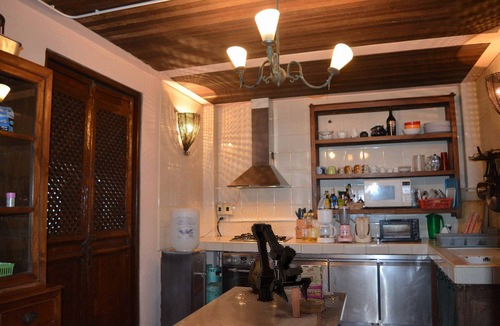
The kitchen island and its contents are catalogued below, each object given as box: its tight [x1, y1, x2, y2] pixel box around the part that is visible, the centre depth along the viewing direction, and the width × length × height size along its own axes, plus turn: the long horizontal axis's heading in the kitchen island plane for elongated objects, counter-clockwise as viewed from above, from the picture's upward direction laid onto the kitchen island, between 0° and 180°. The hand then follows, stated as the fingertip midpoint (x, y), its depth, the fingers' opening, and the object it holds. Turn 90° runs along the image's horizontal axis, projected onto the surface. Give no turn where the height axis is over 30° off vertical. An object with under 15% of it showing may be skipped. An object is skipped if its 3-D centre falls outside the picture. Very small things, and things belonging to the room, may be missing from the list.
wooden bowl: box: [299, 298, 326, 314], centre depth 183 cm, size 12×12×4 cm
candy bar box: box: [299, 264, 324, 300], centre depth 206 cm, size 11×5×16 cm, turn 73°
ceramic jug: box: [247, 240, 277, 295], centre depth 221 cm, size 17×15×30 cm
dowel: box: [291, 286, 301, 318], centre depth 172 cm, size 3×3×12 cm
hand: (297, 301), depth 171 cm, fingers open, 9 cm apart
